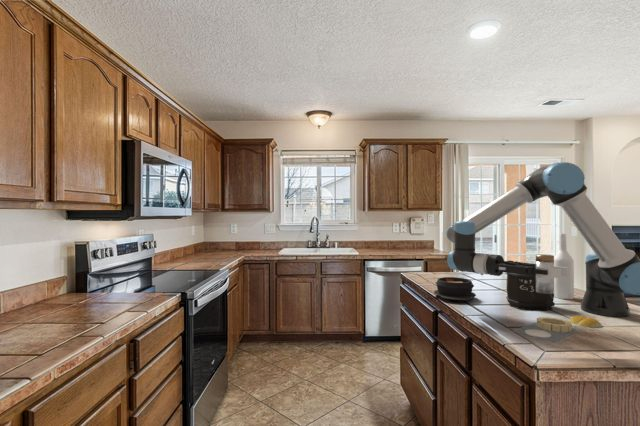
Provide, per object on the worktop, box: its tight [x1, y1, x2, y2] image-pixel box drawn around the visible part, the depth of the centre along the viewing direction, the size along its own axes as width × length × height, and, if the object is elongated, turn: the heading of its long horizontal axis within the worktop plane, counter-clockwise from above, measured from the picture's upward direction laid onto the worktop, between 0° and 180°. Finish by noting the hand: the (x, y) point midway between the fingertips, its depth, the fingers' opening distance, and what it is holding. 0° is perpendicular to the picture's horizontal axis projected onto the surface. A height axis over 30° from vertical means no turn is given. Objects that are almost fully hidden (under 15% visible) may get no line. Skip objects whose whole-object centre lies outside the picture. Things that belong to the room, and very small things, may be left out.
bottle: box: [554, 232, 575, 300], centre depth 163 cm, size 8×8×30 cm
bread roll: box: [569, 315, 603, 328], centre depth 120 cm, size 8×9×4 cm
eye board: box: [512, 316, 582, 343], centre depth 112 cm, size 20×12×4 cm, turn 124°
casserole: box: [433, 276, 477, 301], centre depth 164 cm, size 25×19×8 cm
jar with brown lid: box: [535, 253, 555, 294], centre depth 113 cm, size 5×5×12 cm
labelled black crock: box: [505, 273, 556, 312], centre depth 149 cm, size 18×18×16 cm
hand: (563, 272), depth 109 cm, fingers closed on jar with brown lid, 5 cm apart
